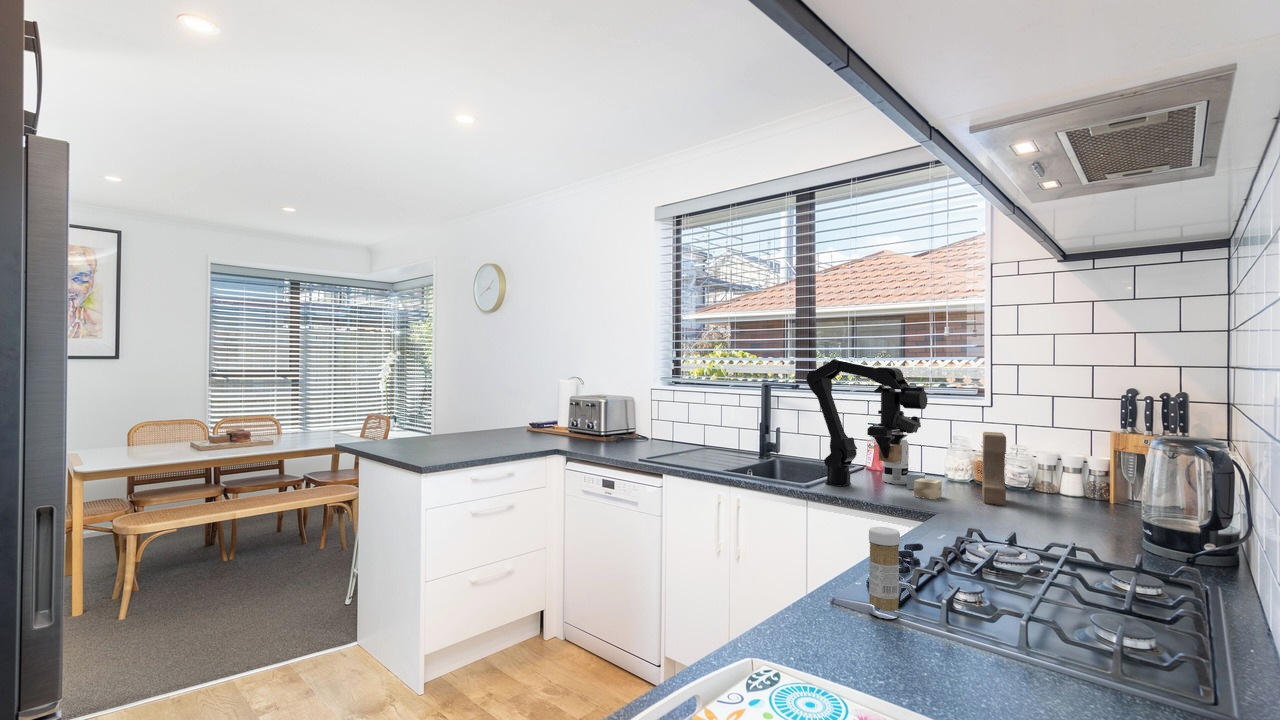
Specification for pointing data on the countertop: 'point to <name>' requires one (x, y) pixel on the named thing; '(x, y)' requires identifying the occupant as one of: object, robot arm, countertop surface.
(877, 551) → the sprinkles bottle
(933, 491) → the maple block
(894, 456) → the walnut cube
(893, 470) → the supplement can
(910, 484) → the slate cube
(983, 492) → the decorative block
